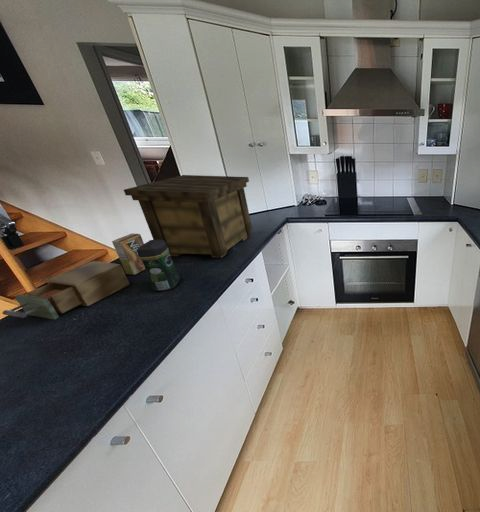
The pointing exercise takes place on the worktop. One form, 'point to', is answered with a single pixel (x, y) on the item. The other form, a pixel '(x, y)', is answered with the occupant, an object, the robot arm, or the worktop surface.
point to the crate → (196, 212)
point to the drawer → (47, 301)
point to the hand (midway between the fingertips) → (3, 245)
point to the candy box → (129, 253)
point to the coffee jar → (158, 265)
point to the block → (49, 297)
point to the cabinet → (93, 280)
